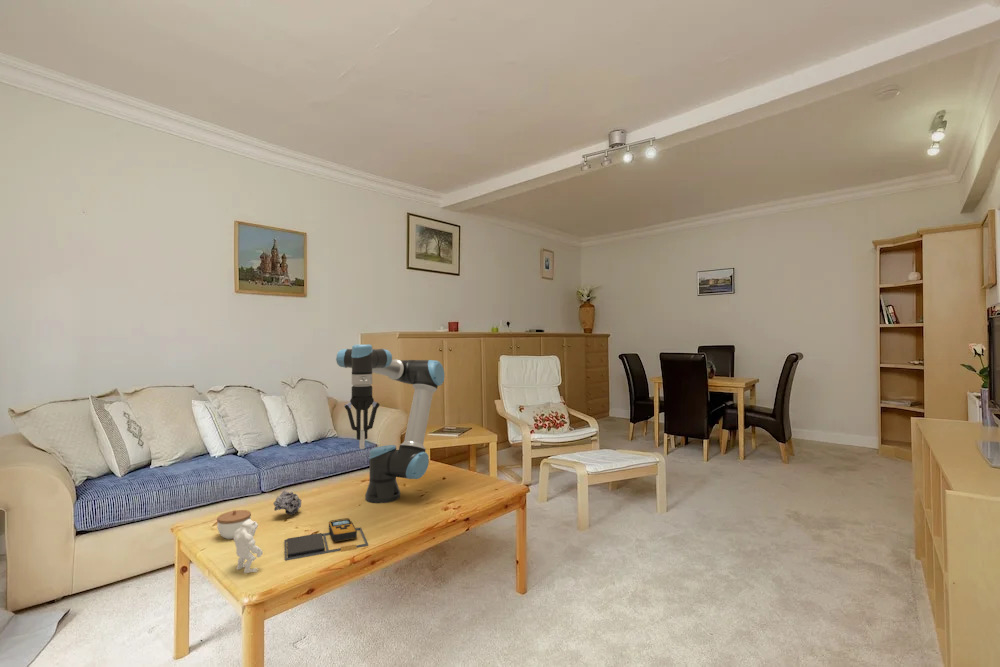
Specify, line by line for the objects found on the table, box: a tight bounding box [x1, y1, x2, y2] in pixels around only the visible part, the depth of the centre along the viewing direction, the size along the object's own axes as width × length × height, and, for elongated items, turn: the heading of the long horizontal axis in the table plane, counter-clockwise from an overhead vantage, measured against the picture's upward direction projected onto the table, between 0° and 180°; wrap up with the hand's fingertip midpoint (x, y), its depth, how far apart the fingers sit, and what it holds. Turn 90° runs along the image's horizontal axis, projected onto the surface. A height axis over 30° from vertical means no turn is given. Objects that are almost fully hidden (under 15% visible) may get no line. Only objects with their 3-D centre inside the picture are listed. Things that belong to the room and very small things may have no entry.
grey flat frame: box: [284, 527, 369, 562], centre depth 165 cm, size 17×26×2 cm, turn 115°
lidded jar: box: [216, 509, 252, 540], centre depth 173 cm, size 11×11×9 cm
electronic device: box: [328, 517, 358, 543], centre depth 173 cm, size 8×16×3 cm, turn 26°
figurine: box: [233, 519, 263, 574], centre depth 147 cm, size 11×7×15 cm, turn 56°
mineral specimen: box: [273, 490, 302, 516], centre depth 192 cm, size 12×9×10 cm
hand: (361, 448), depth 179 cm, fingers closed
